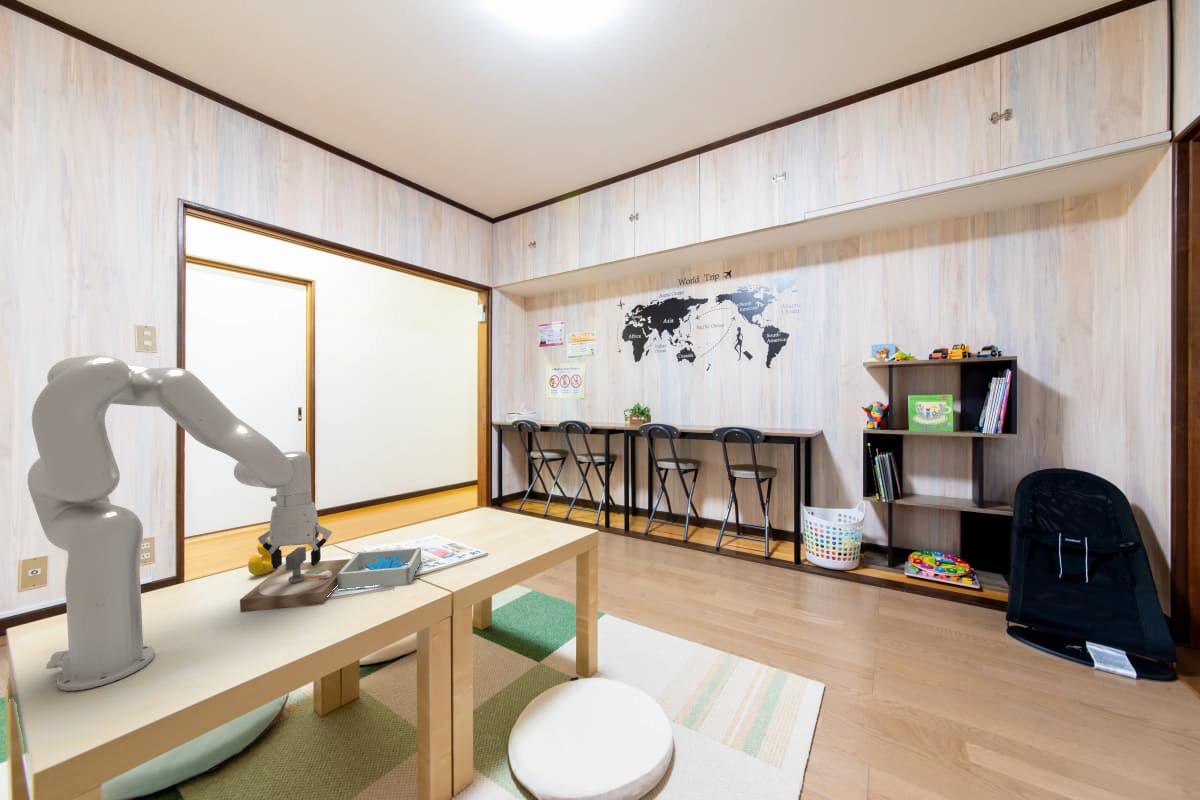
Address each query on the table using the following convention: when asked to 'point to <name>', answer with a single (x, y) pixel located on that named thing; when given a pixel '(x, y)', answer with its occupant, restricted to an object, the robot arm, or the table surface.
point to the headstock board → (294, 587)
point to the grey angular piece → (298, 565)
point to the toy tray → (382, 577)
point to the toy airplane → (385, 563)
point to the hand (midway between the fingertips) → (296, 565)
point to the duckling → (260, 561)
